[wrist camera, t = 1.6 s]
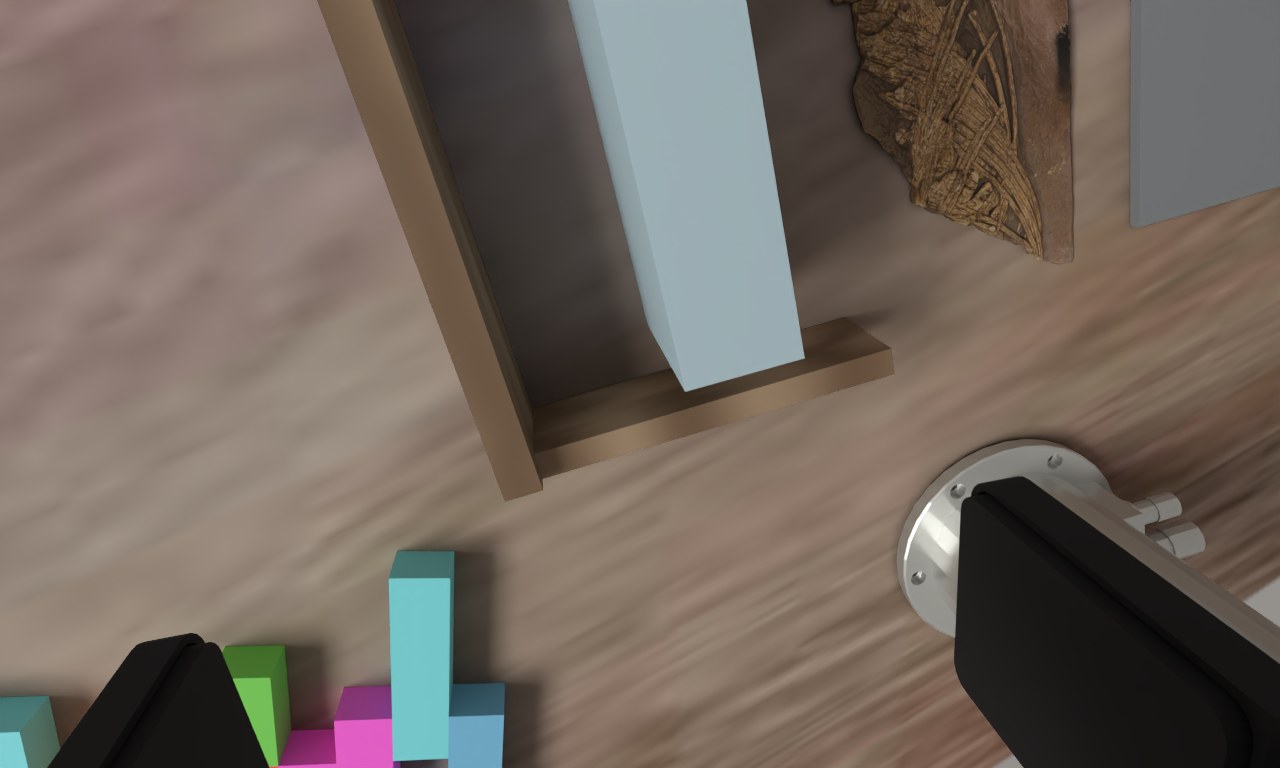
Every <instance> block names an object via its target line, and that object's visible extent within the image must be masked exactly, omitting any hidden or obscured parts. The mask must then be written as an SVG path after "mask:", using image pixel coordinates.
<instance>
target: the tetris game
mask: <svg viewBox="0 0 1280 768" xmlns="http://www.w3.org/2000/svg"><path fill="white" fill-rule="evenodd" d="M454 554H455V551H397V552H396V556H395V559H394V563H393V566H392V570H391V573H390V577H389V602H390V647H391V686H376V687H344V690H343V693H342V697H341V700H340V703H339V706H338V710H337V713H336V716H335V719H334V729H322V730H296V731H292V730H291V718H290V706H289V693H288V681H287V669H286V656H285V645H276V646H225V648H224V650H223V652H222V654H223V657H224V659H225V661H226V664H227V666H228V669H229V671H230V673H231V676H232V678H233V681H234V683H235V686H236V688H237V690H238V693H239V695H240V698H241V700H242V702H243V705H244V707H245V710H246V712H247V714H248V717H249V719H250V722H251V724H252V727H253V729H254V731H255V734H256V736H257V739H258V741H259V743H260V746H261V748H262V751H263V753H264V755H265V758H266V760H267V763H268V765H269V768H401V761H406V760H429V759H448V768H502V752H503V728H504V702H505V683H479V684H453V632H454ZM59 750H60V745H59V741H58V736H57V732H56V727H55V722H54V718H53V713H52V709H51V704H50V699H49V696H31V697H0V768H47V767H48V766H49V764H50V763H51V762H52V760H53V759H54V757H55V756H56V755H57V753H58V752H59Z"/></svg>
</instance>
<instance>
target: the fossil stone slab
mask: <svg viewBox="0 0 1280 768" xmlns="http://www.w3.org/2000/svg"><path fill="white" fill-rule="evenodd" d="M832 3H833V6H834V5H838V4H843V3H850V6H851V8H852V18H853V21H854V32H855V37H856V42H857V44H858V47H859V54H860V55H861V56H862V58H863V59H862V61H861V63H860V65H859V67H858V72H857V75H856V78H855V80H856V82H855V84H854V87H853V94H854V100H855V105H856V109H857V112H858V115H859V117H860V120H861V122H862V126H863V129H864V131H865V132H866V133H867V134H870V135H872V136H873V137H875V138H876V139H878V141H879V143H880V144H881V146H882V147H883V149H884V150H885V151H887V152H888V153H889V154H890V155H891V156H892V157H893V159H894V160H895V161H896V162H898V164H899V165H900V166H901V167H902V171H903V173H904V175H905V176H906V178H907V179H908V180H909V182H910V185H911V186H912V189H911V201H912V203H914V204H915V205H918V206H920V207H923V208H924V209H926V210H927V211H929V212H931V213H937V214H942V215H944V216H945V217H947V218H949V219H950V220H951V221H953V222H955V223H960V224H962V225H964V226H966V227H967V226H970V225H974V226H976V227H977V228H978V229H979V230H981V231H983V232H985V233H987V234H989V235H993V236H995V237H998V238H1001V239H1003V240H1008V241H1010V242H1012V243H1014V244H1016V245H1017V244H1019V245H1022V246H1024V247H1025V248H1026V251H1027V253H1028V254H1029V255H1031V256H1033V257H1034V259H1036V260H1039V261H1046V262H1050V263H1055V264H1062V263H1067V262H1072V261H1073V250H1074V247H1073V230H1072V226H1073V223H1072V220H1073V219H1072V216H1073V200H1072V168H1071V145H1070V117H1069V116H1070V93H1071V85H1070V68H1069V55H1070V51H1069V45H1070V40H1069V30H1068V29H1069V23H1068V6H1067V0H832Z"/></svg>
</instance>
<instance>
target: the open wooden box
mask: <svg viewBox="0 0 1280 768" xmlns="http://www.w3.org/2000/svg"><path fill="white" fill-rule="evenodd" d="M317 1H318V4H319V7H320V9H321V12H322V15H323V17H324V20H325V23H326V25H327V28H328V31H329V33H330V36H331V39H332V41H333V44H334V47H335V49H336V52H337V55H338V57H339V60H340V63H341V65H342V68H343V71H344V73H345V76H346V79H347V81H348V84H349V87H350V89H351V92H352V95H353V97H354V100H355V103H356V105H357V108H358V111H359V113H360V116H361V119H362V121H363V124H364V127H365V129H366V132H367V135H368V137H369V140H370V143H371V145H372V148H373V151H374V153H375V156H376V159H377V161H378V164H379V167H380V169H381V172H382V175H383V177H384V180H385V183H386V185H387V188H388V191H389V193H390V196H391V199H392V201H393V204H394V207H395V209H396V212H397V215H398V217H399V220H400V223H401V225H402V228H403V231H404V233H405V236H406V239H407V241H408V244H409V247H410V249H411V252H412V255H413V257H414V260H415V263H416V265H417V268H418V271H419V273H420V276H421V279H422V281H423V284H424V287H425V289H426V292H427V295H428V297H429V300H430V303H431V305H432V308H433V311H434V313H435V316H436V319H437V321H438V324H439V327H440V329H441V332H442V335H443V337H444V340H445V343H446V345H447V348H448V351H449V353H450V356H451V359H452V361H453V364H454V367H455V369H456V372H457V375H458V377H459V380H460V383H461V385H462V388H463V391H464V393H465V396H466V399H467V401H468V404H469V407H470V409H471V412H472V415H473V417H474V420H475V423H476V426H477V428H478V431H479V434H480V436H481V439H482V442H483V444H484V447H485V450H486V452H487V455H488V458H489V460H490V463H491V466H492V468H493V471H494V474H495V476H496V479H497V482H498V484H499V487H500V490H501V492H502V495H503V498H504V500H505V501H509V500H512V499H515V498H519V497H522V496H525V495H529V494H532V493H535V492H539V491H542V490H543V481H542V479H543V478H547V477H550V476H554V475H557V474H560V473H564V472H567V471H570V470H574V469H577V468H580V467H584V466H587V465H591V464H594V463H597V462H601V461H604V460H607V459H611V458H614V457H617V456H621V455H624V454H627V453H631V452H634V451H638V450H641V449H644V448H648V447H651V446H654V445H658V444H661V443H664V442H668V441H671V440H674V439H678V438H681V437H685V436H688V435H691V434H695V433H698V432H701V431H705V430H708V429H711V428H715V427H718V426H722V425H725V424H728V423H732V422H735V421H738V420H742V419H745V418H748V417H752V416H755V415H758V414H762V413H765V412H769V411H772V410H775V409H779V408H782V407H785V406H789V405H792V404H795V403H799V402H802V401H805V400H809V399H812V398H816V397H819V396H822V395H826V394H829V393H832V392H836V391H839V390H842V389H846V388H849V387H853V386H856V385H859V384H863V383H866V382H869V381H873V380H876V379H879V378H883V377H886V376H889V375H893V374H895V373H894V365H893V358H892V350H891V348H890V347H888V346H887V345H885V344H884V343H882V342H881V341H879V340H878V339H876V338H875V337H873V336H872V335H870V334H868V333H867V332H865V331H864V330H862V329H861V328H859V327H858V326H856V325H855V324H853V323H852V322H850V321H849V320H847V319H846V318H840V319H837V320H833V321H830V322H827V323H823V324H820V325H816V326H813V327H810V328H806V329H803V330H800V332H801V339H802V345H803V351H804V357H805V358H804V359H801V360H797V361H793V362H790V363H786V364H783V365H779V366H776V367H772V368H769V369H765V370H761V371H758V372H754V373H751V374H747V375H744V376H740V377H736V378H733V379H729V380H726V381H722V382H719V383H715V384H712V385H708V386H704V387H701V388H697V389H694V390H690V391H687V392H685V391H684V389H683V387H682V385H681V384H680V382H679V380H678V378H677V376H676V375H675V373H674V371H673V369H672V368H670V369H666V370H663V371H659V372H656V373H653V374H649V375H646V376H642V377H639V378H635V379H632V380H629V381H625V382H622V383H618V384H615V385H612V386H608V387H605V388H601V389H598V390H595V391H591V392H588V393H584V394H581V395H577V396H574V397H571V398H567V399H564V400H560V401H557V402H554V403H550V404H547V405H543V406H540V407H537V408H533V409H532V406H531V403H530V400H529V397H528V394H527V391H526V388H525V385H524V382H523V379H522V376H521V373H520V370H519V367H518V364H517V361H516V359H515V356H514V353H513V350H512V347H511V344H510V341H509V338H508V335H507V332H506V329H505V326H504V323H503V320H502V317H501V314H500V311H499V308H498V305H497V302H496V300H495V297H494V294H493V291H492V288H491V285H490V282H489V279H488V276H487V273H486V270H485V267H484V264H483V261H482V258H481V255H480V252H479V249H478V246H477V243H476V241H475V238H474V235H473V232H472V229H471V226H470V223H469V220H468V217H467V214H466V211H465V208H464V205H463V202H462V199H461V196H460V193H459V190H458V187H457V185H456V182H455V179H454V176H453V173H452V170H451V167H450V164H449V161H448V158H447V155H446V152H445V149H444V146H443V143H442V140H441V137H440V134H439V131H438V128H437V126H436V123H435V120H434V117H433V114H432V111H431V108H430V105H429V102H428V99H427V96H426V93H425V90H424V87H423V84H422V81H421V78H420V75H419V72H418V69H417V67H416V64H415V61H414V58H413V55H412V52H411V49H410V46H409V43H408V40H407V37H406V34H405V31H404V28H403V25H402V22H401V19H400V16H399V13H398V10H397V8H396V5H395V2H394V0H317Z"/></svg>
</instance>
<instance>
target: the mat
mask: <svg viewBox="0 0 1280 768" xmlns="http://www.w3.org/2000/svg"><path fill="white" fill-rule="evenodd" d="M1276 187H1280V0H1131V105H1130V226H1134V227H1139V228H1140V227H1143V226H1146V225H1150V224H1153V223H1157V222H1160V221H1164V220H1167V219H1170V218H1174V217H1177V216H1181V215H1184V214H1187V213H1191V212H1194V211H1198V210H1201V209H1205V208H1208V207H1211V206H1215V205H1218V204H1222V203H1225V202H1228V201H1232V200H1235V199H1239V198H1242V197H1245V196H1249V195H1252V194H1256V193H1259V192H1263V191H1266V190H1269V189H1273V188H1276Z"/></svg>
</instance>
